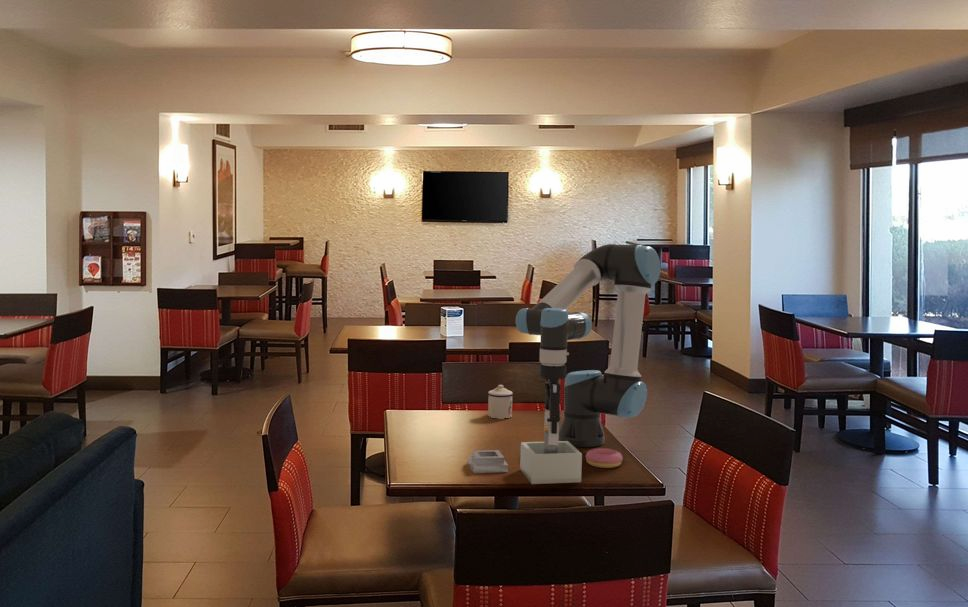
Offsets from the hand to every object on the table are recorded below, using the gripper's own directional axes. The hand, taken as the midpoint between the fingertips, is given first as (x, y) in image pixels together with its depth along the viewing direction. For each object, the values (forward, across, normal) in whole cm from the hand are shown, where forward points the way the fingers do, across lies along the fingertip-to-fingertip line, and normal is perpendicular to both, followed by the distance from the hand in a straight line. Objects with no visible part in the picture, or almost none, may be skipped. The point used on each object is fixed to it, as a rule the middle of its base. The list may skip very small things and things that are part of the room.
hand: (551, 438), depth 252 cm
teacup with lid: (+11, +74, +12) cm, 76 cm away
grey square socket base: (+11, +7, +18) cm, 22 cm away
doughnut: (+11, +13, -17) cm, 24 cm away
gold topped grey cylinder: (+10, 0, 0) cm, 10 cm away
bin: (+11, 0, 0) cm, 11 cm away
